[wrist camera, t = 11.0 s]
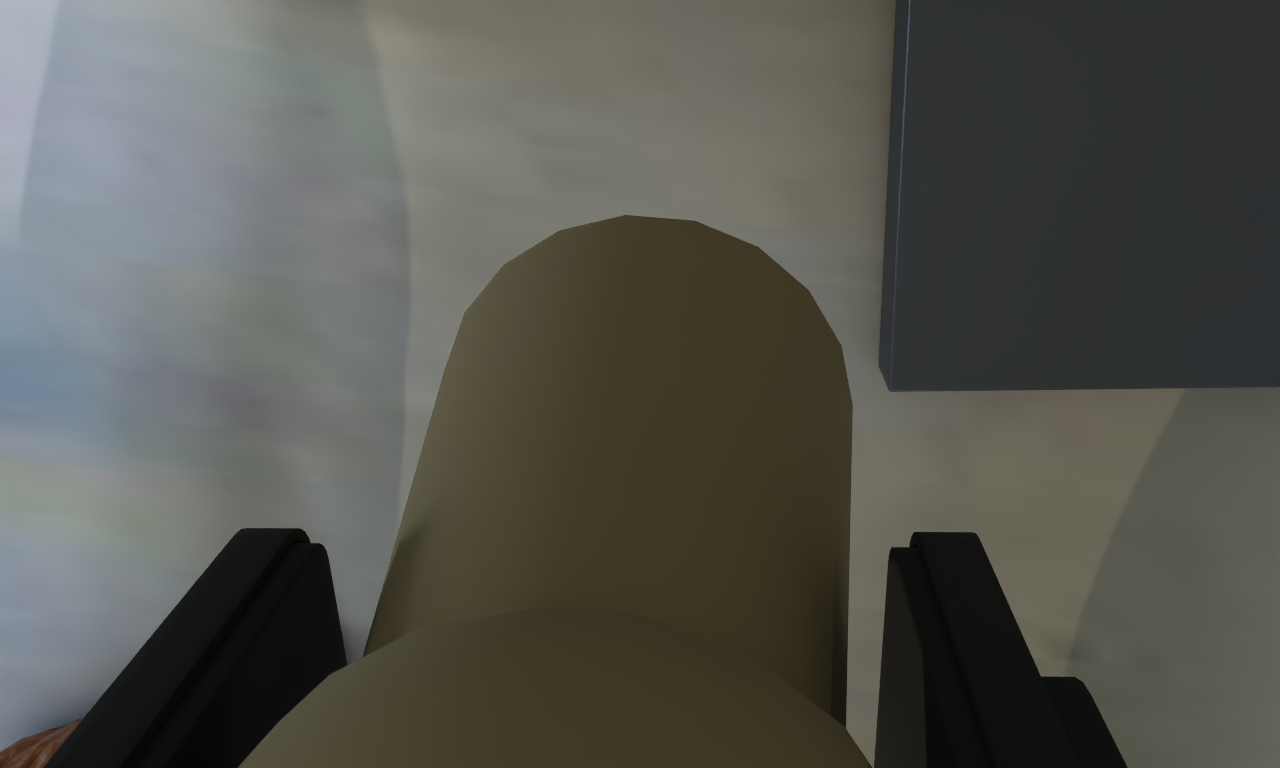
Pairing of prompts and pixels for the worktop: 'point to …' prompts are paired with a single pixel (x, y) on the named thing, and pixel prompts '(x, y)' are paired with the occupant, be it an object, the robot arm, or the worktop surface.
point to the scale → (1083, 196)
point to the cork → (615, 527)
